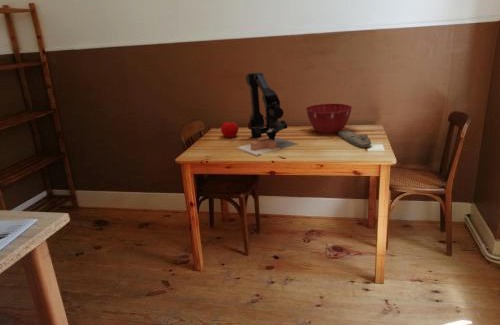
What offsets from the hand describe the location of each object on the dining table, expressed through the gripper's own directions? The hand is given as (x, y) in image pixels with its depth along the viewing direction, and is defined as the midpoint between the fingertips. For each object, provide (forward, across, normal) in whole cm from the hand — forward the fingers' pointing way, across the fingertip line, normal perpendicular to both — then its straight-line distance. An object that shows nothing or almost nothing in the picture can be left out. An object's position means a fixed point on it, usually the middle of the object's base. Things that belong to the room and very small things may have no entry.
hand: (272, 142), depth 219 cm
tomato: (+2, -5, +38) cm, 38 cm away
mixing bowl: (+3, +47, +3) cm, 47 cm away
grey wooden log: (+3, +41, -23) cm, 47 cm away
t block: (+1, -8, 0) cm, 8 cm away
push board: (+2, -3, +1) cm, 4 cm away
